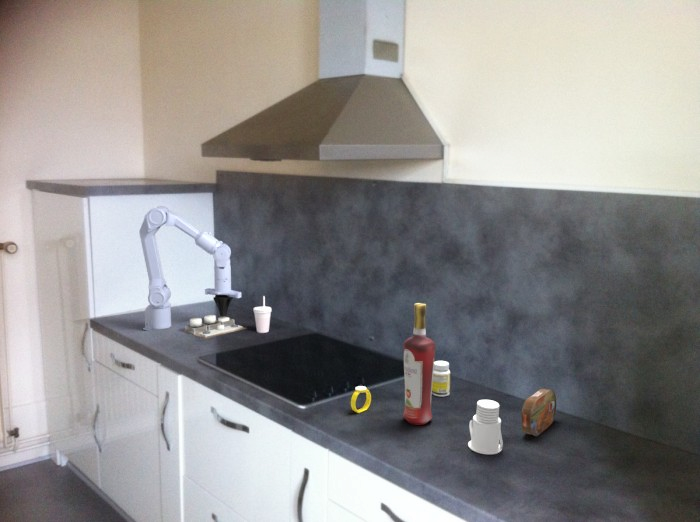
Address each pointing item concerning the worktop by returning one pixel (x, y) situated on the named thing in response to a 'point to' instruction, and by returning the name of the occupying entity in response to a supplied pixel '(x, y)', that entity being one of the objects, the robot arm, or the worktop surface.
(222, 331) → the strip
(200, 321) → the button near
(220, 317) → the button far
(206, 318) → the button mid
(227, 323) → the console
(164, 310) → the robot arm
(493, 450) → the downlight
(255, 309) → the smoothie
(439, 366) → the supplement bottle
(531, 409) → the tin
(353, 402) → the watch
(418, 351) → the liquor
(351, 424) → the worktop surface
